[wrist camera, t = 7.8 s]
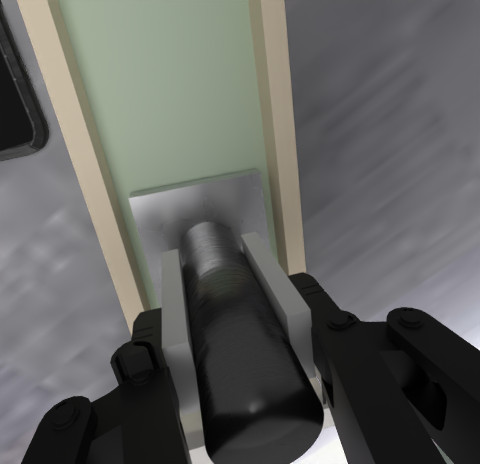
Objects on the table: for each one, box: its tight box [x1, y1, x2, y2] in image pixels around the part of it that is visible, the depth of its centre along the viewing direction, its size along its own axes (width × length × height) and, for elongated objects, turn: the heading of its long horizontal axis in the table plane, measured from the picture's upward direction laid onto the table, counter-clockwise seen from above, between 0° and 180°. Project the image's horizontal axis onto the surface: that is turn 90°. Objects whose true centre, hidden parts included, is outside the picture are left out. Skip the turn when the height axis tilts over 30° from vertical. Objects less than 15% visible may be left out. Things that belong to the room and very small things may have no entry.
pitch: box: [17, 0, 335, 464], centre depth 15 cm, size 28×10×9 cm, turn 8°
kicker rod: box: [128, 168, 324, 464], centre depth 14 cm, size 8×7×12 cm
